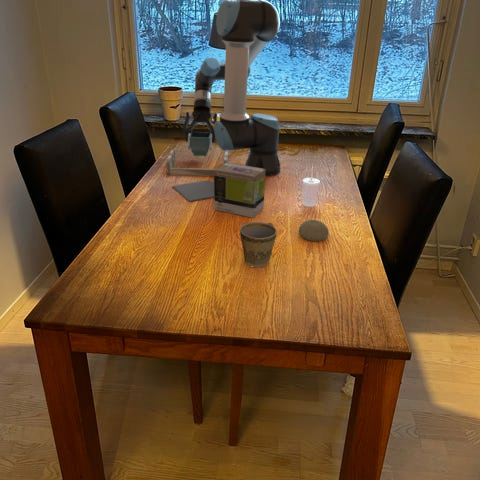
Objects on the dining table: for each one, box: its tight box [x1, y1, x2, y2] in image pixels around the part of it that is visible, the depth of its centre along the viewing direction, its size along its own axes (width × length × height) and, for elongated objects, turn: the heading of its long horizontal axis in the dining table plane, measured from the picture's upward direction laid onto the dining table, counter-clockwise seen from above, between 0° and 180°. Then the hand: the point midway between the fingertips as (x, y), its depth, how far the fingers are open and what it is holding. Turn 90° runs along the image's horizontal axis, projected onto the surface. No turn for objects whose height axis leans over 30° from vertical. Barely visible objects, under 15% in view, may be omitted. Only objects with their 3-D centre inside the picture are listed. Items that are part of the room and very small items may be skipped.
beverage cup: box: [301, 166, 321, 207], centre depth 164 cm, size 6×6×14 cm
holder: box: [166, 148, 229, 177], centre depth 196 cm, size 16×24×6 cm, turn 89°
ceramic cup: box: [239, 221, 278, 268], centre depth 129 cm, size 13×10×10 cm
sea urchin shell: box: [298, 219, 330, 242], centre depth 144 cm, size 9×8×8 cm
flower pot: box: [189, 131, 211, 157], centre depth 202 cm, size 9×9×9 cm
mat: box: [171, 179, 214, 203], centre depth 175 cm, size 16×16×1 cm
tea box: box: [213, 162, 266, 219], centre depth 158 cm, size 15×10×15 cm
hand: (199, 148), depth 200 cm, fingers closed on flower pot, 9 cm apart
